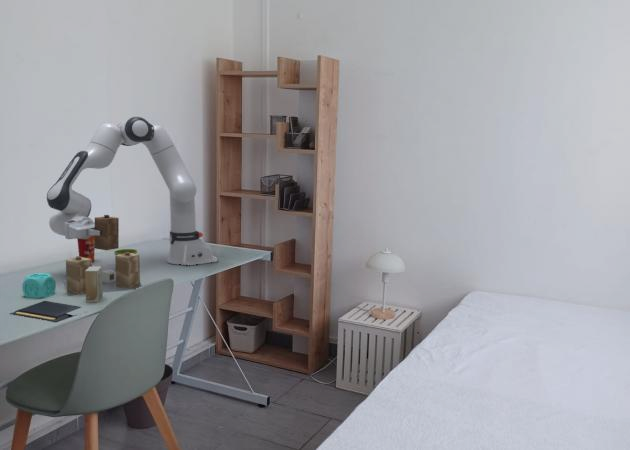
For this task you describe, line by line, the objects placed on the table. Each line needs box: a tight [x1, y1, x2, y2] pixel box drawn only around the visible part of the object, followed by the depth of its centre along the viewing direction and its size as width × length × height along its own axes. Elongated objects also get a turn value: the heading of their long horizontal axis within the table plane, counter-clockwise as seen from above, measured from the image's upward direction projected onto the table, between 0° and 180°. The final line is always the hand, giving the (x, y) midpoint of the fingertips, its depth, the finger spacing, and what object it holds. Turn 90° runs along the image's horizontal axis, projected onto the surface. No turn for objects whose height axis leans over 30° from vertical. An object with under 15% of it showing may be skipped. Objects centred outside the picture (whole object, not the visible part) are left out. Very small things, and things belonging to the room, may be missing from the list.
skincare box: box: [85, 266, 104, 303], centre depth 212 cm, size 6×4×12 cm
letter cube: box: [102, 269, 116, 283], centre depth 236 cm, size 4×4×4 cm
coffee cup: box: [77, 235, 95, 264], centre depth 269 cm, size 8×8×15 cm
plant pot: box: [113, 248, 138, 256], centre depth 256 cm, size 9×9×9 cm
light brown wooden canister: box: [65, 255, 93, 296], centre depth 221 cm, size 6×6×13 cm
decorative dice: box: [21, 272, 57, 299], centre depth 216 cm, size 8×8×8 cm
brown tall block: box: [114, 252, 141, 289], centre depth 230 cm, size 6×6×13 cm
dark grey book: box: [9, 300, 82, 323], centre depth 201 cm, size 20×2×15 cm
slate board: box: [62, 281, 143, 297], centre depth 231 cm, size 27×20×1 cm
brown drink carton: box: [94, 214, 120, 251], centre depth 233 cm, size 6×6×13 cm
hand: (108, 231), depth 232 cm, fingers closed on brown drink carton, 6 cm apart
